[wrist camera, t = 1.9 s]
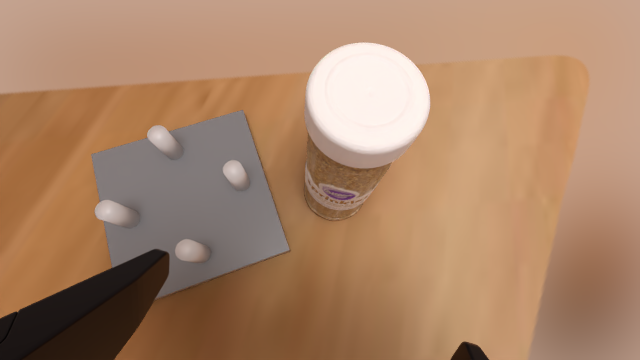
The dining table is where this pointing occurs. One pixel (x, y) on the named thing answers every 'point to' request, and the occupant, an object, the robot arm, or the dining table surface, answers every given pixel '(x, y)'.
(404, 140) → the sprinkles bottle
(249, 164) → the pin tray
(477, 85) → the dining table surface
